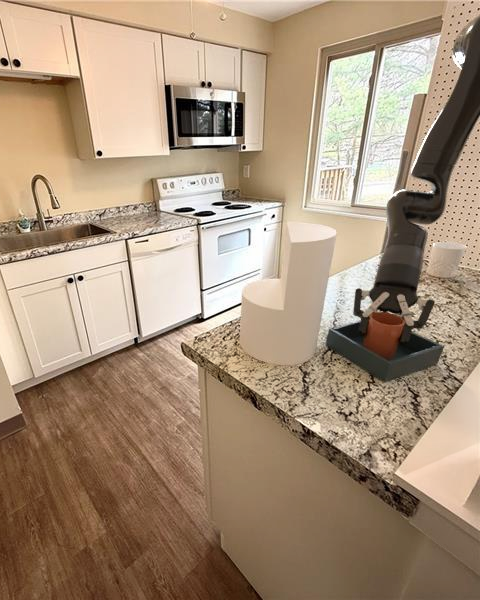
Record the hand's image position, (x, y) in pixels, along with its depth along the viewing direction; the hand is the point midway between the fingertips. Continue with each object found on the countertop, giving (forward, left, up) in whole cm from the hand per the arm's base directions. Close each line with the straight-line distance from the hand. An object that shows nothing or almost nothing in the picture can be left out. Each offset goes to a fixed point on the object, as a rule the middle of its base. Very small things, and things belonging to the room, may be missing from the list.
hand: (381, 339), depth 66 cm
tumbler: (-1, -1, -4) cm, 5 cm away
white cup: (-57, -25, -5) cm, 63 cm away
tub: (-1, -1, -5) cm, 5 cm away
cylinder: (+16, -13, -5) cm, 21 cm away
